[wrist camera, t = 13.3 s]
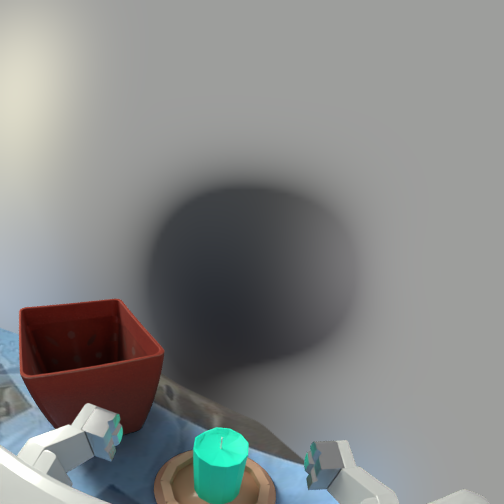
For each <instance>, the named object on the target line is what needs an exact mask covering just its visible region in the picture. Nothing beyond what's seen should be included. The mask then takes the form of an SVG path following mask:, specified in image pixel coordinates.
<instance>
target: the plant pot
mask: <svg viewBox="0 0 504 504" xmlns="http://www.w3.org/2000/svg"><path fill="white" fill-rule="evenodd" d="M163 358H164V350H163V348H162V347H161V346H160V345H159V343H157V341H156V340H155V339H154V338H153V337H152V336H151V335H150V334H149V332H148V331H147V330H146V329H145V328H144V327H143V326H142V324H141V323H140V322H139V321H138V320H137V319H136V317H135V316H134V315H133V314H132V313H131V311H130V310H129V309H128V308H127V307H126V305H125V304H124V303H123V302H122V301H121V300H120V299H109V300H99V301H89V302H80V303H70V304H59V305H49V306H37V307H26V308H22V309H20V311H19V360H20V374H21V377H22V379H23V381H24V383H25V385H26V387H27V389H28V391H29V393H30V394H31V396H32V398H33V399H34V401H35V403H36V404H37V406H38V407H39V409H40V410H41V412H42V413H43V414H44V416H45V417H46V418H47V420H48V421H49V422H50V423H51V424H52V426H53V427H54V428H55V429H58V428H60V427H63V426H66V425H72V423H73V422H74V420H75V419H76V417H77V416H78V414H79V413H80V411H81V410H82V408H83V407H84V405H85V404H87V403H90V404H92V405H95V406H98V407H100V408H103V409H106V410H108V411H111V412H114V413H117V414H119V415H120V421H119V423H120V424H121V425H122V428H123V435H124V434H127V433H131V432H135V431H138V430H140V429H141V428H142V426H143V424H144V422H145V420H146V418H147V416H148V413H149V411H150V409H151V406H152V403H153V400H154V397H155V394H156V391H157V387H158V383H159V379H160V375H161V370H162V364H163Z"/></svg>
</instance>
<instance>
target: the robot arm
mask: <svg viewBox="0 0 504 504" xmlns="http://www.w3.org/2000/svg"><path fill="white" fill-rule="evenodd" d="M119 421H120V415H119V414H117V413H114V412H111V411H108V410H106V409H103V408H100V407H98V406H95V405H92V404H90V403H87V404H85V405H84V407H83V408H82V410H81V411H80V413H79V414H78V416H77V417H76V419H75V420H74V422H73V423H72V425H66V426H63V427H60V428H58V429H55V430H53V431H50V432H47V433H44V434H42V435H39V436H36V437H33V438H30V439H29V440H28V441H27V442H26V444H25V445H24V447H23V448H22V449H21V451H20V452H19V453H18V455H17V456H16V455H14V454H13V453H11V452H10V451H8V450H7V449H5V448H4V447H3V446H1V445H0V504H111V503H108V502H105V501H103V500H100V499H98V498H95V497H93V496H90V495H88V494H86V493H83V492H81V491H79V490H77V489H75V488H72V487H71V486H72V481H71V480H70V478H69V477H68V475H67V474H66V473H67V472H69V471H71V470H72V469H74V468H76V467H77V466H79V465H81V464H83V463H84V462H86V461H88V460H89V459H91V458H92V457H94V456H97V457H100V458H102V459H105V460H108V461H112V459H113V457H114V455H115V453H116V449H115V446H117V445H119V444H120V442H121V439H122V435H123V428H122V425H121V424H120V423H119ZM310 449H311V450H310V451H309V452H307V454H306V457H305V461H304V467H305V471H306V472H307V473H308V474H309V475H308V477H307V478H306V480H307V485H308V490H320V489H327V491H328V492H329V493H330V494H331V495H332V496H333V497H334V498H335V499H336V500H337V501H338V502H339V503H340V504H399V502H398V499H397V497H396V494H395V492H394V491H393V490H391V489H390V488H388V487H387V486H385V485H384V484H383V483H381V482H380V481H378V480H377V479H375V478H374V477H373V476H371V475H370V474H369V473H367V472H366V471H365V470H363V469H362V468H361V467H357V466H356V463H355V460H354V458H353V455H352V452H351V449H350V446H349V443H348V441H346V440H344V441H323V442H321V441H320V442H313V443H312V444H311V446H310ZM428 504H490V503H489V501H488V500H487V499H486V498H485V497H482V496H481V495H479V494H476V493H474V492H472V491H469V490H466V489H463V490H460V491H457V492H455V493H453V494H450V495H448V496H446V497H443V498H441V499H438V500H436V501H433V502H431V503H428Z"/></svg>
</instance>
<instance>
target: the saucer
mask: <svg viewBox="0 0 504 504" xmlns="http://www.w3.org/2000/svg"><path fill="white" fill-rule="evenodd" d="M154 494H155V499H156V502H157V504H211V503H207V502H206V501H204V500H202V499H201V498H199V497H198V495H197V493H196V491H195V489H194V467H193V450H190V451H187V452H184V453H181V454H179V455H177V456H175V457H173V458H171V459H170V460H169V461H167V462H166V463H165V464H164V465H163V466H162V467H161V469H160V470H159V472H158V473H157V476H156V478H155V482H154ZM275 501H276V492H275V487H274V484H273V481H272V480H271V478H270V476H269V475H268V473H267V472H266V471H265V470H264V469H263V468H262V467H261V466H260V465H259V464H257V463H256V462H254V461H253V460H251V459H250V458H248V457H247V461H246V465H245V470H244V474H243V478H242V483H241V487H240V491H239V494H238V496H237V497H236V498H235V499H234V500H233V501H232V502H229V503H225V504H275Z"/></svg>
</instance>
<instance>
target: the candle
mask: <svg viewBox="0 0 504 504" xmlns="http://www.w3.org/2000/svg"><path fill="white" fill-rule="evenodd" d="M247 457H248V442H247V441H246V439H245V438H244V437H243V436H242V435H241V434H239V433H237V432H235V431H233V430H232V429H228V428H217V427H216V428H214V429H211V430H208V431H206V432H203V433H202V434H200V435H198V436H197V437H195V442H194V447H193V467H194V489H195V491H196V493H197V495H198V497H199V498H201V499H202V500H204V501H206V502H207V503H211V504H225V503H229V502H232V501H233V500H234V499H235V498H236V497H237V496H238V494H239V491H240V487H241V483H242V478H243V474H244V470H245V465H246V461H247Z"/></svg>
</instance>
